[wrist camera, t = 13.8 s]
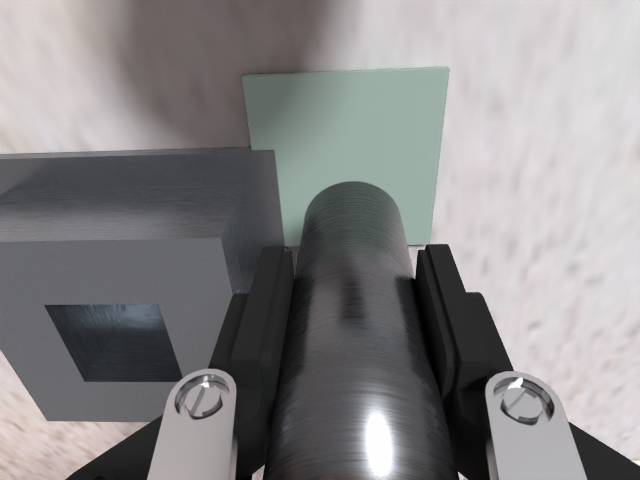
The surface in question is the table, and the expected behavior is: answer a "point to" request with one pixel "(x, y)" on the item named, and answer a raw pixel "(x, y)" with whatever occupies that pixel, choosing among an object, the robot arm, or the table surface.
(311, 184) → the pad
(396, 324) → the grey and gold cylinder
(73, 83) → the table surface
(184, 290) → the block
